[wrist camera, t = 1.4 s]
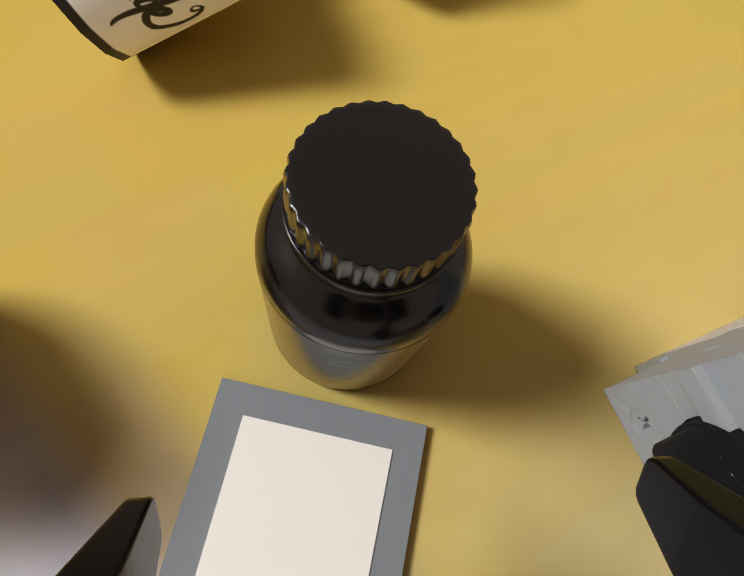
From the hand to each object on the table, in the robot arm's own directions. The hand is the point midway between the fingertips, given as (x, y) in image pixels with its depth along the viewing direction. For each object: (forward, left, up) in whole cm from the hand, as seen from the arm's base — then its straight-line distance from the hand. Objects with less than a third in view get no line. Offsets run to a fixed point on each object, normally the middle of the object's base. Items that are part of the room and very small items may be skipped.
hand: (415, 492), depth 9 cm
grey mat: (-2, +2, -13) cm, 13 cm away
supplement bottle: (+7, +2, -13) cm, 15 cm away
